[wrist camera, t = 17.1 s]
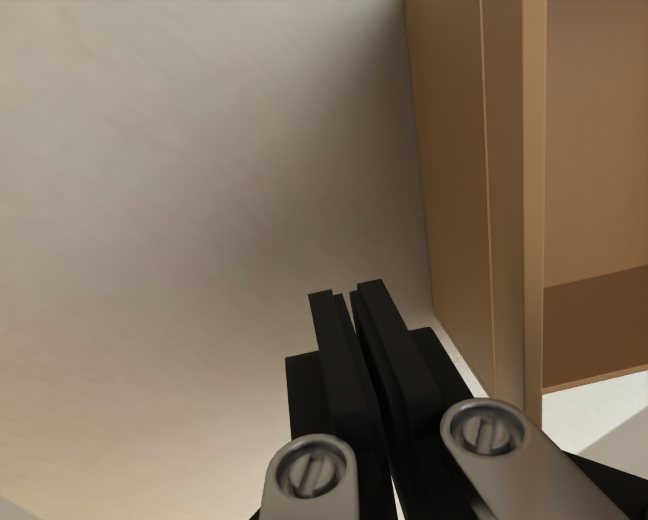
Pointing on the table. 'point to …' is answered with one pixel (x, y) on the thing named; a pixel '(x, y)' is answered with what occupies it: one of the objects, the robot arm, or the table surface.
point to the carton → (560, 184)
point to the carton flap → (517, 192)
